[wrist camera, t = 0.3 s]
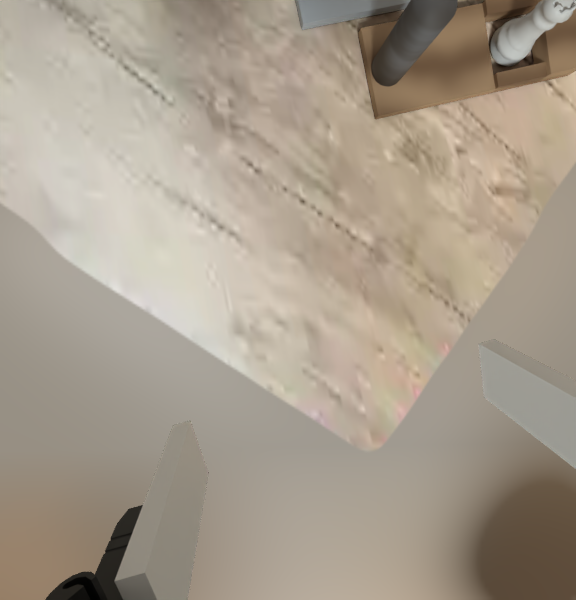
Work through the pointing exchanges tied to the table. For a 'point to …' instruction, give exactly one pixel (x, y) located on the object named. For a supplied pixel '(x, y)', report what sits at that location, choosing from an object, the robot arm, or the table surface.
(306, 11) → the grey board with post
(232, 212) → the table surface
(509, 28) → the rook chess piece
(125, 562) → the robot arm
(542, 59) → the brown board with post
